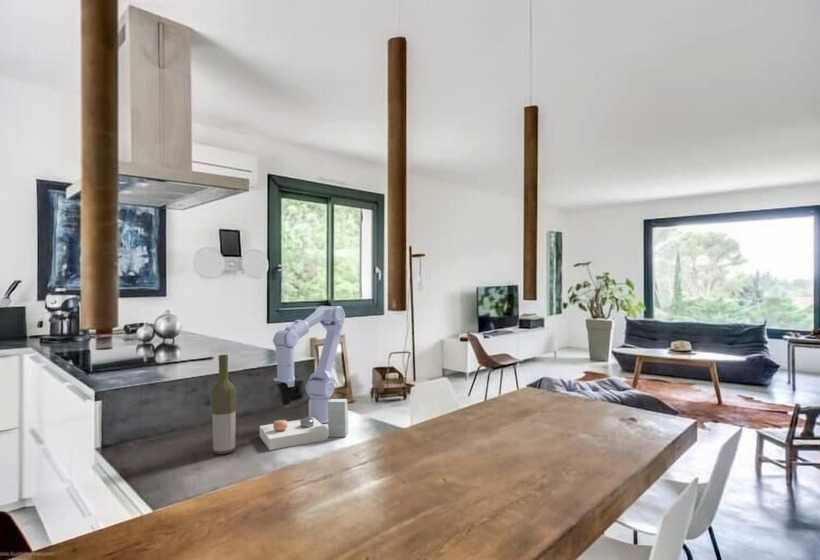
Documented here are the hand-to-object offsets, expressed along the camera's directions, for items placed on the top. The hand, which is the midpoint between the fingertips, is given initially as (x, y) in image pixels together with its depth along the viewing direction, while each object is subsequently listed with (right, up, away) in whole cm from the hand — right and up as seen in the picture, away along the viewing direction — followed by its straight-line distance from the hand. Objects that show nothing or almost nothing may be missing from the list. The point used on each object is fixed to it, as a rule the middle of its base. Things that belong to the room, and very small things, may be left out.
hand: (286, 404), depth 160 cm
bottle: (-15, -11, -16) cm, 25 cm away
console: (+3, -10, -4) cm, 12 cm away
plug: (+8, -10, -3) cm, 13 cm away
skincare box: (+18, -10, -2) cm, 21 cm away
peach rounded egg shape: (0, -9, -7) cm, 12 cm away
